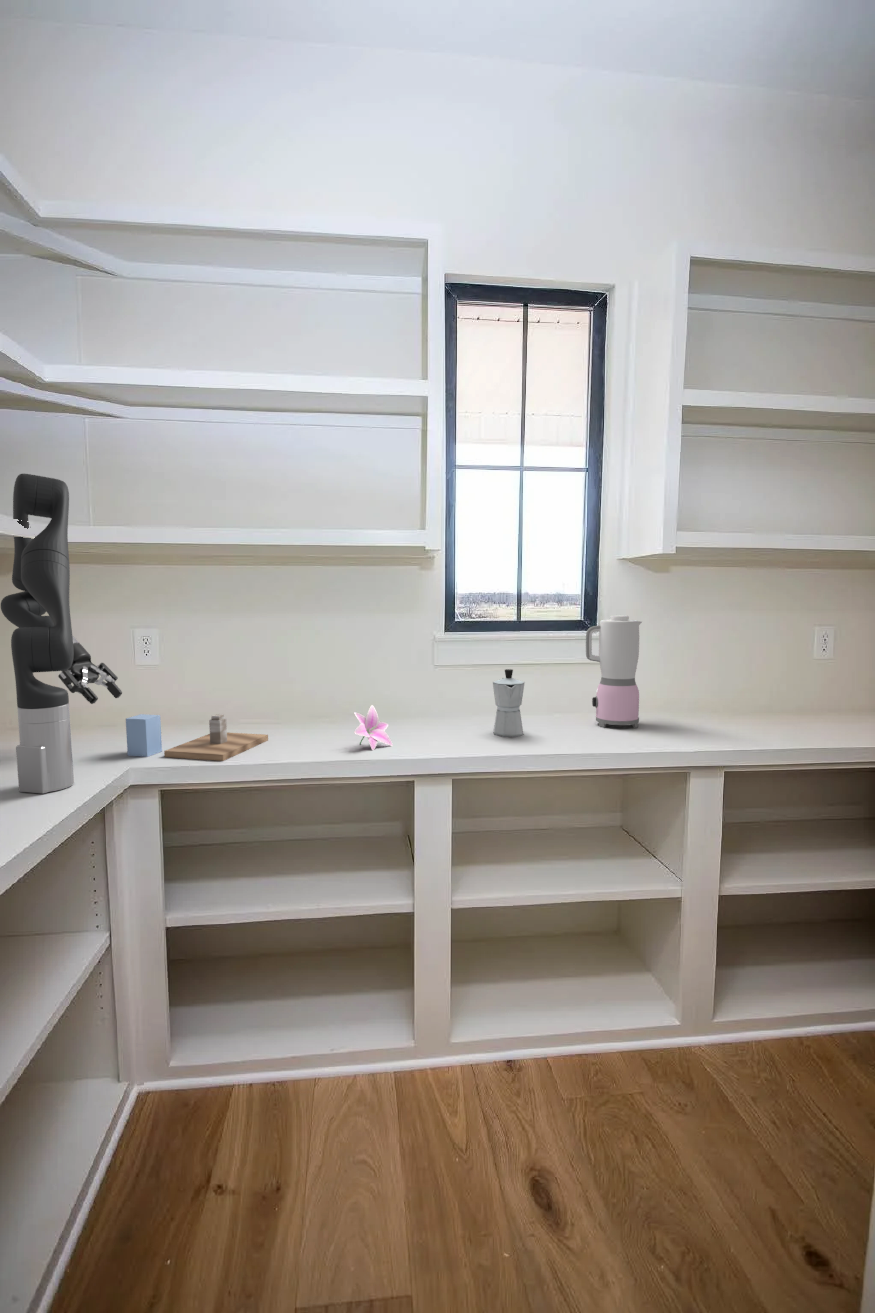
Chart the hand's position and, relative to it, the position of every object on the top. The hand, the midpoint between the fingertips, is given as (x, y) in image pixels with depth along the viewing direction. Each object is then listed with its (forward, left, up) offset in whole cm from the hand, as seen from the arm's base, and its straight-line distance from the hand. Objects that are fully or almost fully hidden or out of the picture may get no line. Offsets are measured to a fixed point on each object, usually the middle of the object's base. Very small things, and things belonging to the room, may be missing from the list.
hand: (107, 698), depth 171 cm
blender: (+61, -122, -14) cm, 137 cm away
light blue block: (0, -10, -13) cm, 17 cm away
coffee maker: (+44, -94, -14) cm, 105 cm away
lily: (+20, -62, -14) cm, 67 cm away
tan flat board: (+9, -25, -13) cm, 30 cm away
